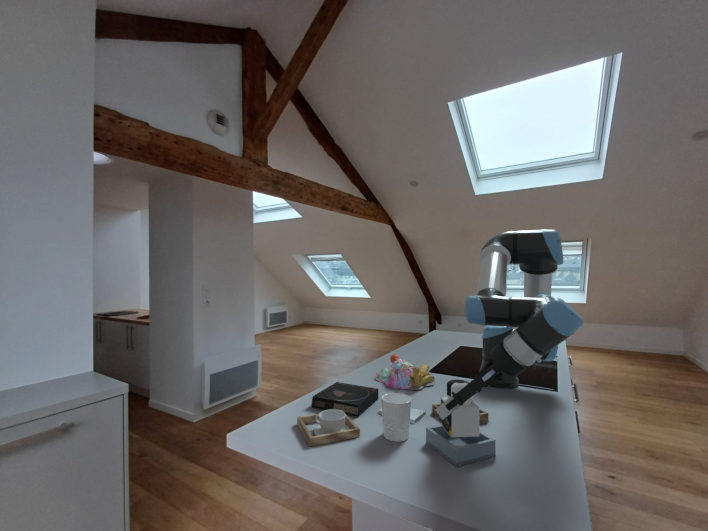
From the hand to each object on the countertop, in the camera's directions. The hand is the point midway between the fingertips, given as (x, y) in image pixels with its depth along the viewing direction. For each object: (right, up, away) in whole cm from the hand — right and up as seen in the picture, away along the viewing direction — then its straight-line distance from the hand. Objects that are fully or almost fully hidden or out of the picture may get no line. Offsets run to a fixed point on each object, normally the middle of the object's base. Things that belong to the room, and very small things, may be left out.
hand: (447, 407), depth 84 cm
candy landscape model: (-3, -12, +52) cm, 54 cm away
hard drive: (-9, -11, +19) cm, 24 cm away
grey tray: (+2, -9, -2) cm, 10 cm away
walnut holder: (+8, -10, +17) cm, 22 cm away
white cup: (-12, -10, +5) cm, 17 cm away
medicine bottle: (+2, -5, -2) cm, 6 cm away
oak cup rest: (-31, -9, +8) cm, 33 cm away
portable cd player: (-26, -11, +27) cm, 39 cm away
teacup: (-30, -10, +7) cm, 32 cm away
